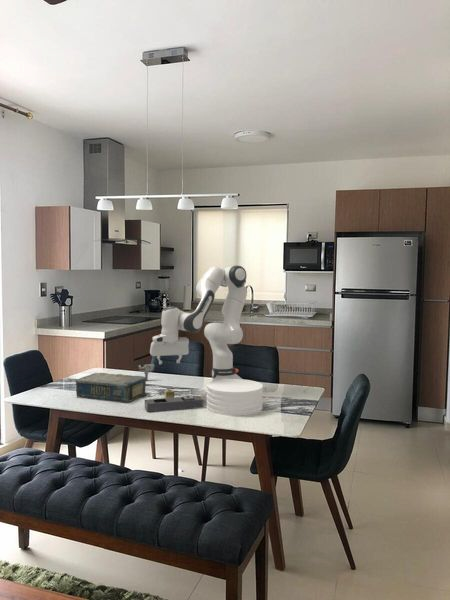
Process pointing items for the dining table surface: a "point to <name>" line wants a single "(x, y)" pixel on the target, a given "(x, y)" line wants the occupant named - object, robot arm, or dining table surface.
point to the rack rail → (172, 404)
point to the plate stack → (234, 397)
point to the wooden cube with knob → (169, 393)
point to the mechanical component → (146, 369)
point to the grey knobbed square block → (187, 398)
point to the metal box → (111, 387)
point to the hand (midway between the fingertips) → (169, 363)
